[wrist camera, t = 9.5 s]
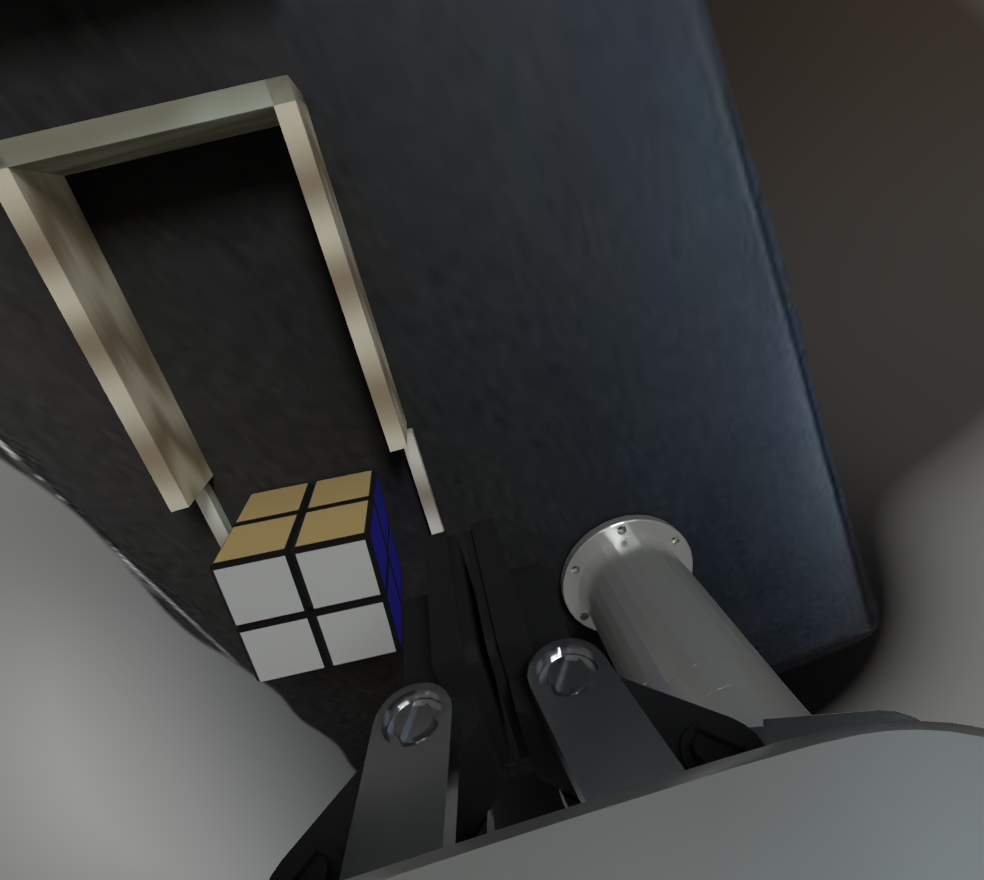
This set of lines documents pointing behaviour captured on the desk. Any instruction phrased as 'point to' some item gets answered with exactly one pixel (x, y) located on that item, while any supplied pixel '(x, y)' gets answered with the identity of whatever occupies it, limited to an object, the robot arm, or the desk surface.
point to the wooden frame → (102, 306)
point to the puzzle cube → (312, 576)
